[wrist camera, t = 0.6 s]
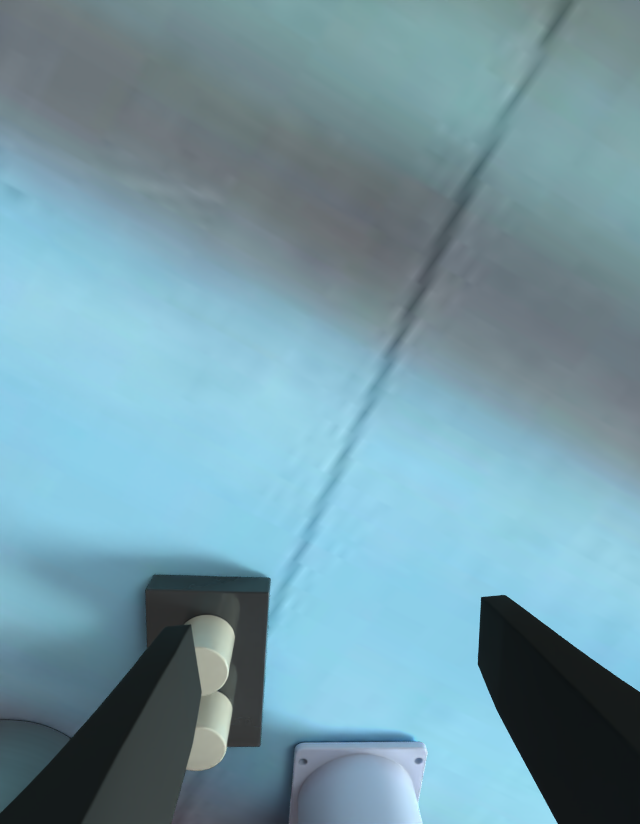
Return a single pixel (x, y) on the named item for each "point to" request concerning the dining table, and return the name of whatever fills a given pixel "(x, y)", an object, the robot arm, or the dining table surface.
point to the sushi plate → (248, 625)
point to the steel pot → (24, 755)
